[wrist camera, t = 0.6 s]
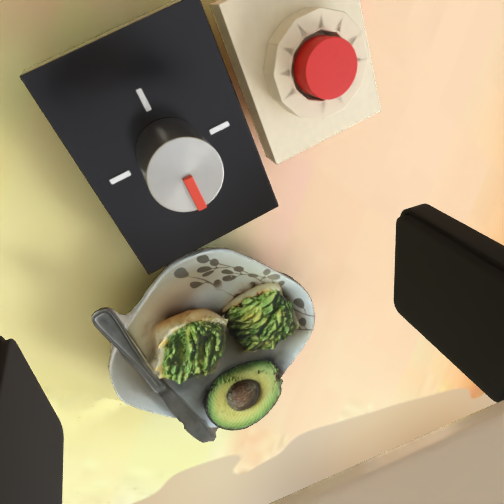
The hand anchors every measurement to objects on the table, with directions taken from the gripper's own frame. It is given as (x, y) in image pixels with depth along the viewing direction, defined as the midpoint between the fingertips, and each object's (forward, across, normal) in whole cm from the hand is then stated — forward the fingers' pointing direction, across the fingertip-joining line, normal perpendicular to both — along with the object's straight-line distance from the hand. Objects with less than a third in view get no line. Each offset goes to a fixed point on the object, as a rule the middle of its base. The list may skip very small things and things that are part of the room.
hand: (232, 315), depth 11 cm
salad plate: (+23, -2, +20) cm, 31 cm away
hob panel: (+23, -2, +2) cm, 23 cm away
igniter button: (+19, -12, -1) cm, 23 cm away
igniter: (+23, -12, -2) cm, 26 cm away
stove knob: (+20, -2, +2) cm, 21 cm away
